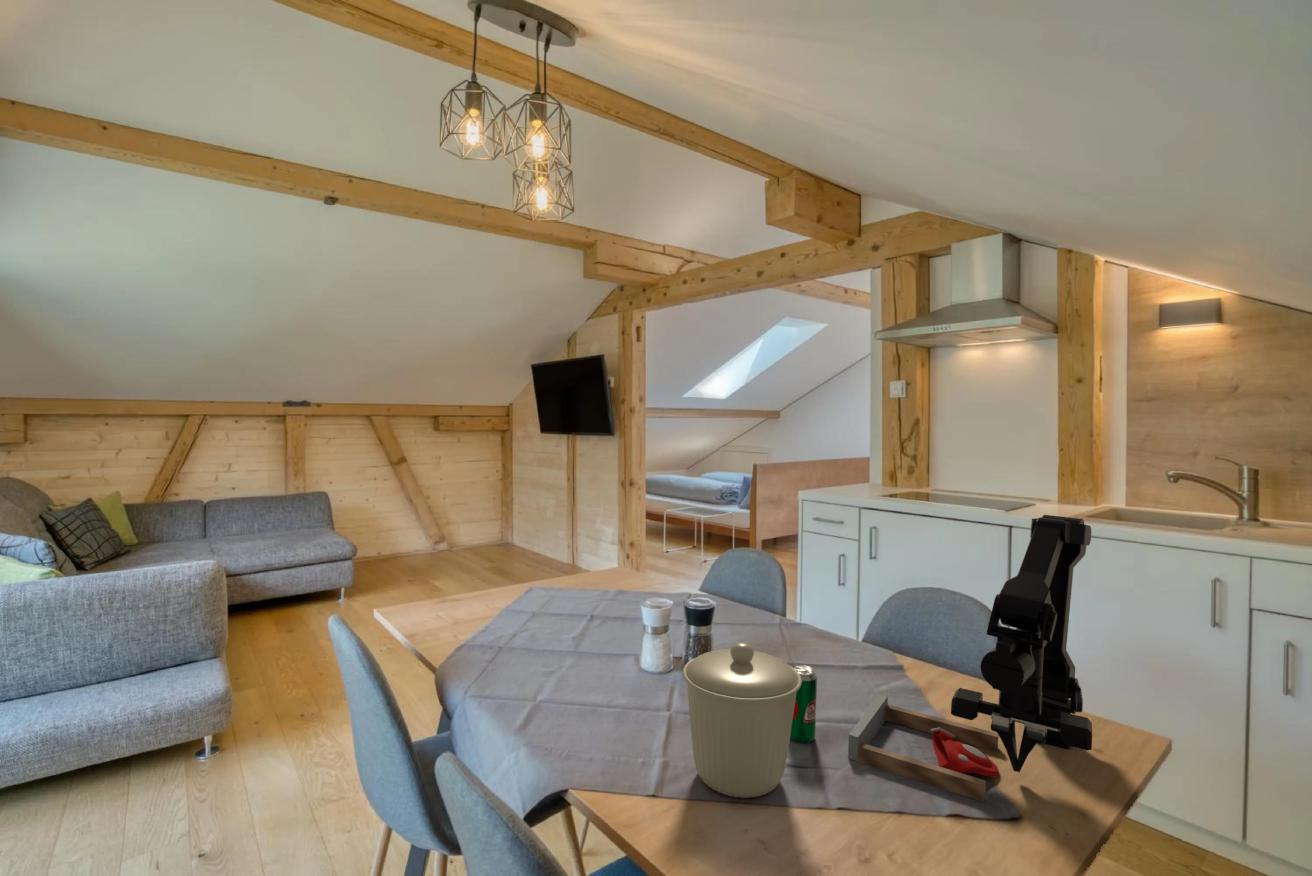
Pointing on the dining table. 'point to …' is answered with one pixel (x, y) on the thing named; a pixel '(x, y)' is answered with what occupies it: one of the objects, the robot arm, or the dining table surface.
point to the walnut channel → (925, 770)
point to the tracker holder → (960, 755)
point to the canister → (740, 718)
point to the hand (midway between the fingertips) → (1016, 770)
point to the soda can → (805, 706)
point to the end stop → (867, 726)
